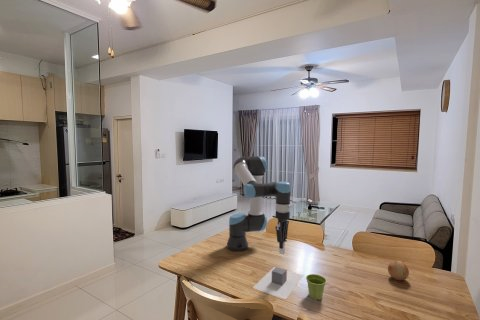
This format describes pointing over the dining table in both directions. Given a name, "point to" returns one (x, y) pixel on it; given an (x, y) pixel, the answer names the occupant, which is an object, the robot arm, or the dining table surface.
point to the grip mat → (277, 289)
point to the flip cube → (279, 275)
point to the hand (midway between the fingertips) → (281, 253)
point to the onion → (398, 270)
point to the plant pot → (315, 285)
